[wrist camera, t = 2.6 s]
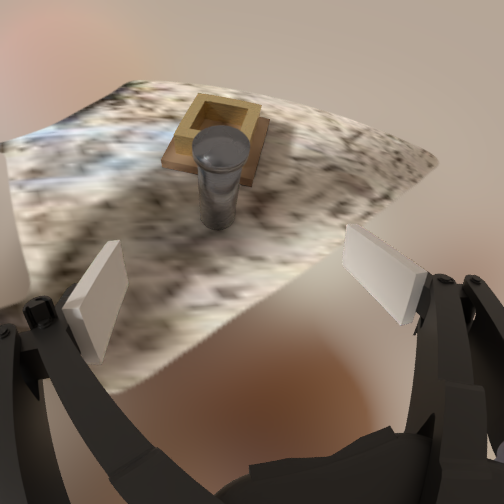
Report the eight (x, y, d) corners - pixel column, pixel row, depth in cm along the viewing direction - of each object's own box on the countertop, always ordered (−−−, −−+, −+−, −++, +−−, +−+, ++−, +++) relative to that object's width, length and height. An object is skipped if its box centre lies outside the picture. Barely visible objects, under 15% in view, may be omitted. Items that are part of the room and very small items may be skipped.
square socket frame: (175, 153, 34) (173, 134, 31) (198, 111, 37) (198, 93, 34) (243, 168, 34) (246, 149, 31) (258, 122, 38) (261, 105, 34)
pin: (191, 227, 32) (183, 159, 21) (203, 193, 34) (202, 121, 23) (232, 237, 32) (242, 172, 21) (241, 202, 34) (255, 131, 23)
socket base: (162, 167, 35) (160, 160, 33) (192, 110, 39) (192, 103, 38) (251, 186, 35) (252, 180, 34) (268, 126, 40) (269, 119, 38)
